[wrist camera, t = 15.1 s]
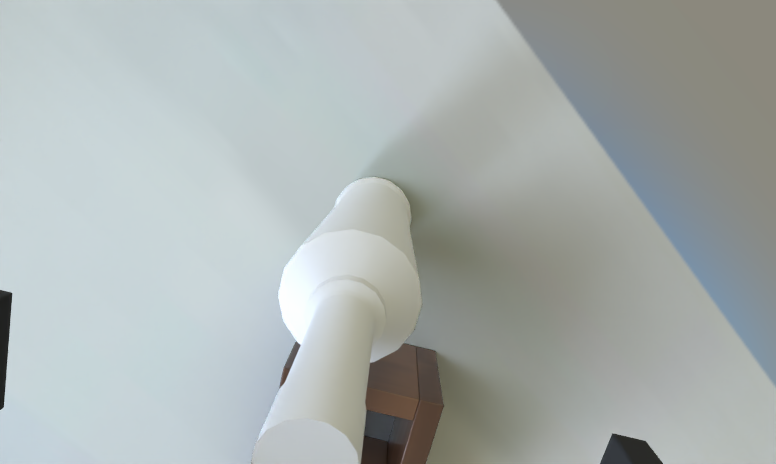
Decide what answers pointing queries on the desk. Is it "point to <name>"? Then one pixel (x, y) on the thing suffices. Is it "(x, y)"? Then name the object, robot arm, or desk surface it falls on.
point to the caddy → (400, 404)
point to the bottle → (342, 324)
